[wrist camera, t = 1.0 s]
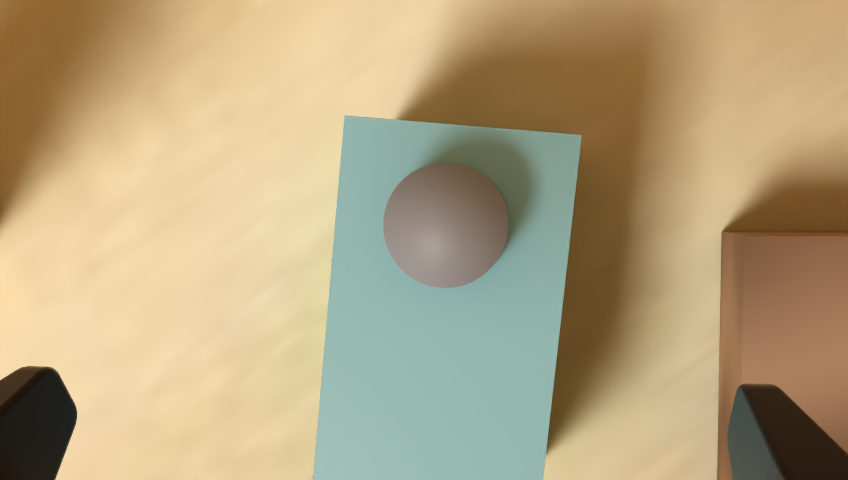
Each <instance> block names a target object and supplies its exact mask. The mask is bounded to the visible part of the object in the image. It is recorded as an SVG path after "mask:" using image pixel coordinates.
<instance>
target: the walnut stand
mask: <svg viewBox="0 0 848 480" xmlns="http://www.w3.org/2000/svg"><path fill="white" fill-rule="evenodd" d="M745 383H748V384H773V385H775V386H777V387H779V388H780V389H781V390H783V391H784V392H785V393H786V394H787V395H788V396H789V397H790V398H791V399H792V400H793V401H794V402H795V403H796V404H797V405H798V406H799V407H800V408H801V409H802V410H803V411H804V412H805V413H806V414H807V415H808V416H809V417H810V418H812V419H813V420H814V421H815V422H816V423H817V424H818V425H819V426H820V427H821V428H822V429H823V430H824V431H825V432H826V433H827V434H828V435H829V436H830V437H831V438H832V439H833V440H834V441H835V442H836V443H837V444H838V445H839V446H840V447H842V448H843V449H844V450H845V451H846V452H847V453H848V232H722V246H721V302H720V357H719V412H718V467H717V480H733V477H732V471H731V465H730V459H729V453H728V446H727V429H728V424H729V420H730V415H731V411H732V407H733V402H734V398H735V394H736V390H737V389H738V387H739V386H740V385H741V384H745Z"/></svg>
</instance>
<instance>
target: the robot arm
mask: <svg viewBox="0 0 848 480" xmlns="http://www.w3.org/2000/svg"><path fill="white" fill-rule="evenodd" d="M76 420H77V409H76V406H75V403H74V401H73V400H72V398H71V396H70V394H69V392H68V390H67V388H66V386H65V384H64V383H63V381H62V379H61V377H60V375H59V373H58V372H57V371H56V370H55V369H53V368H51V367H37V366H27V367H22V368H20V369H18V370H16V371H14V372H13V373H11V374H10V375H8V376H6V377H5V378H3V379H2V380H0V480H55V479H56V476H57V473H58V471H59V468H60V465H61V463H62V460H63V457H64V454H65V452H66V449H67V446H68V444H69V441H70V438H71V436H72V433H73V430H74V428H75V425H76ZM727 446H728V453H729V459H730V465H731V471H732V477H733V480H848V453H847V452H846V451H845V450H844V449H843V448H842V447H840V446H839V445H838V444H837V443H836V442H835V441H834V440H833V439H832V438H831V437H830V436H829V435H828V434H827V433H826V432H825V431H824V430H823V429H822V428H821V427H820V426H819V425H818V424H817V423H816V422H815V421H814V420H813V419H812V418H810V417H809V416H808V415H807V414H806V413H805V412H804V411H803V410H802V409H801V408H800V407H799V406H798V405H797V404H796V403H795V402H794V401H793V400H792V399H791V398H790V397H789V396H788V395H787V394H786V393H785V392H784V391H783V390H781V389H780V388H779V387H777V386H775V385H773V384H748V383H745V384H741V385H740V386H739V387H738V389H737V390H736V394H735V398H734V402H733V407H732V411H731V415H730V420H729V424H728V429H727Z"/></svg>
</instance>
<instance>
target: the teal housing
mask: <svg viewBox="0 0 848 480" xmlns="http://www.w3.org/2000/svg"><path fill="white" fill-rule="evenodd" d="M581 138H582V135H578V134H566V133H553V132H541V131H529V130H517V129H504V128H492V127H480V126H468V125H455V124H443V123H431V122H419V121H406V120H394V119H382V118H370V117H357V116H345V118H344V129H343V141H342V152H341V164H340V175H339V186H338V198H337V209H336V221H335V232H334V244H333V255H332V267H331V278H330V289H329V301H328V312H327V324H326V335H325V347H324V358H323V370H322V381H321V392H320V404H319V415H318V427H317V438H316V450H315V461H314V472H313V480H543V476H544V467H545V458H546V449H547V440H548V431H549V422H550V413H551V405H552V396H553V387H554V378H555V369H556V360H557V351H558V342H559V333H560V325H561V316H562V307H563V298H564V289H565V280H566V271H567V262H568V254H569V245H570V236H571V227H572V218H573V209H574V200H575V191H576V183H577V174H578V165H579V156H580V147H581Z"/></svg>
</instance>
